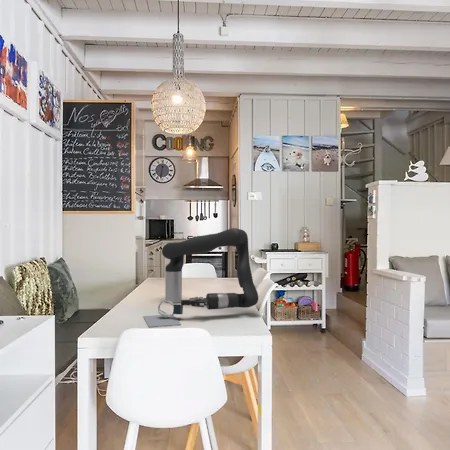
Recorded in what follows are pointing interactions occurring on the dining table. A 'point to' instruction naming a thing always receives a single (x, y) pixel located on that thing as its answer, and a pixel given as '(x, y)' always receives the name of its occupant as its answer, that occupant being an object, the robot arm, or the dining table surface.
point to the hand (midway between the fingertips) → (181, 302)
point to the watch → (176, 310)
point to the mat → (161, 320)
